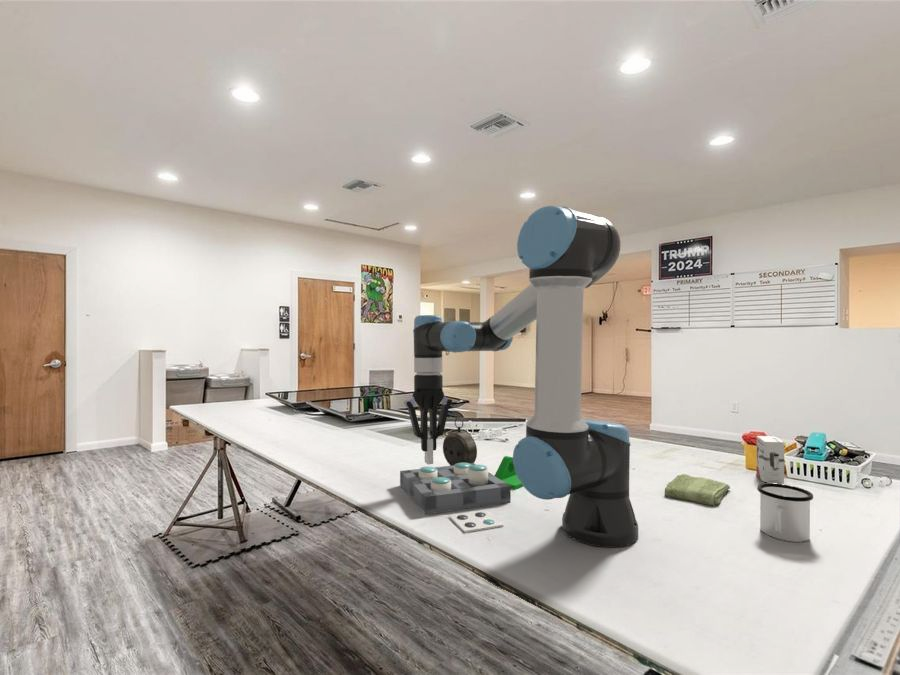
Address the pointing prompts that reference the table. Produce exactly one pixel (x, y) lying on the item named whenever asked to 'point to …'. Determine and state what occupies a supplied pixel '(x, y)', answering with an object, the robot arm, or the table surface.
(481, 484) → the button
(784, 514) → the white oval bin
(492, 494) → the button board
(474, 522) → the tile
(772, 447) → the ink box
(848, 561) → the table surface
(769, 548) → the table surface
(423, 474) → the button
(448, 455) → the alarm clock
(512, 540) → the table surface
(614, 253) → the robot arm
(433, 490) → the button
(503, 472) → the bracket
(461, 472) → the button
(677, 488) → the washcloth
